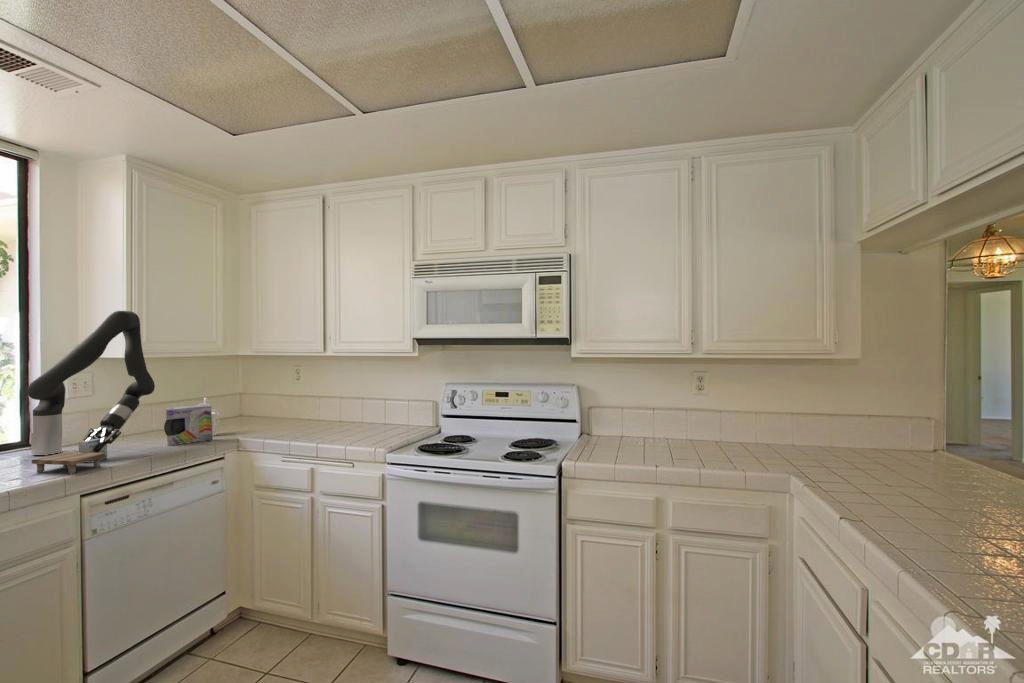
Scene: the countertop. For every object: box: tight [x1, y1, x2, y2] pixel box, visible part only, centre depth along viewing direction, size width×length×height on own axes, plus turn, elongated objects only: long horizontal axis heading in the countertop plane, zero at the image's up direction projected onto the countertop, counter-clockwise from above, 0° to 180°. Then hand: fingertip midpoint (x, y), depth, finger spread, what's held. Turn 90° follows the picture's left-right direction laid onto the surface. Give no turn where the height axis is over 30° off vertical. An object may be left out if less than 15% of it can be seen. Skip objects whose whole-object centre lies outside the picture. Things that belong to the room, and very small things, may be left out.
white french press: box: [196, 396, 220, 437], centre depth 246 cm, size 10×9×20 cm
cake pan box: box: [163, 404, 214, 446], centre depth 228 cm, size 19×5×18 cm, turn 123°
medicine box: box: [78, 437, 108, 463], centre depth 194 cm, size 8×4×9 cm, turn 170°
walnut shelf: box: [31, 451, 105, 475], centre depth 180 cm, size 18×12×5 cm, turn 81°
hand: (88, 451), depth 192 cm, fingers open, 5 cm apart
